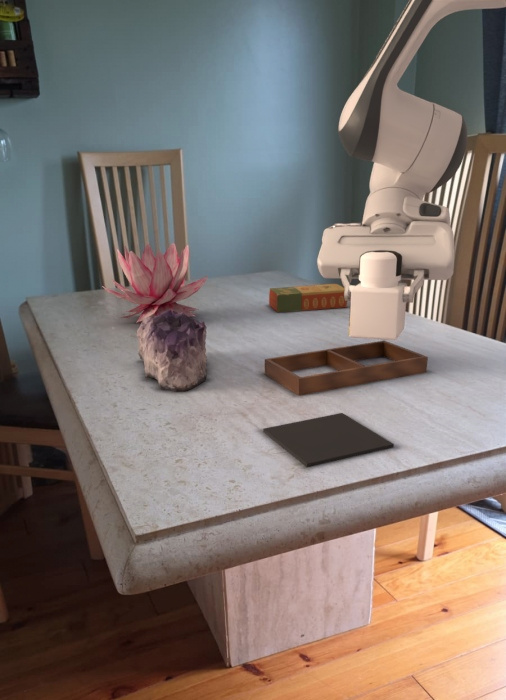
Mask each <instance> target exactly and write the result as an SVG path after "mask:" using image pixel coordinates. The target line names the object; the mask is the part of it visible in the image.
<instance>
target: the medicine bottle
mask: <svg viewBox="0 0 506 700" xmlns="http://www.w3.org/2000/svg"><path fill="white" fill-rule="evenodd" d="M401 268H402V255H401V254H400V253H398V252H396V251H388V250H376V251H368V252H365V253H363V254H362V255H361V256H360V261H359V279H358V281H360V282H359V283H357V284H356V285H355V287H354V288H352V289H351V291H350V301H349V320H348V337H349V338H354V339H368V340H369V339H371V340H383V341H396V340H397V339H398V338H399V337H400V335H401V334H402V333H403V331H404V330H405V325H406V324H405V323H406V310H407V308H406V307H407V303H405V302H403V299H402V296H403V290H404V286H408V283H406V282H403V281H402V279H401ZM401 281H402V282H401Z"/></svg>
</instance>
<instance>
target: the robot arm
mask: <svg viewBox="0 0 506 700" xmlns="http://www.w3.org/2000/svg"><path fill="white" fill-rule="evenodd" d="M502 8H506V0H408V1H407V3H406V5H405V6H404V8H403V10H402V11H401V13H400V15H399V17H398V18H397V20H396V22H395V24H394V25H393V27H392V29H391V31H390V32H389V34H388V36H387V38H386V39H385V41H384V42H383V44H382V45H381V48H380V49H379V51H378V53H377V54H376V56H375V58H374V60H373V61H372V63H371V65H370V66H369V68H368V70H367V71H366V73H365V74H364V76H363V77H362V79H361V80H360V82H359V84H358V85H357V86H356V88H355V89H354V90H353V92H352V93H351V94H350V96H349V97H348V98H347V101H346V102H345V104H344V107H343V109H342V111H341V114H340V117H339V122H338V127H337V134H338V137H339V140H340V143H341V145H342V146H343V149H344V151H345V152H346V154H347V155H348V157H351V158H354V159H359V160H362V161H366V162H372V163H373V165H372V169H371V174H370V178H369V195H368V196H367V198H366V201H365V205H364V211H363V217H362V221H361V222H349V223H342V222H336V223H333V225H331V226H328V227H327V228H325V229H324V230H323V233H322V237H321V246H320V249H319V253H318V256H317V259H316V263H317V268H318V272H319V274H320V275H321V277H323V279H340V280H341V284H342V287H343V288H345V292H344V298H345V301H347V302H350V291H351V289H352V288H354V287H355V286H356V285H354V284H353V285H352V284H351V283H352V280H353V279H354V280H357V279H358V280H359V261H360V256H361V255H362V254H363V253H365V252H368V251H376V250H388V251H396V252H398V253H400V254H401V255H402V268H401V280H403V281H405V280H407V281H410V280H412V283H410V284H409V286H408V285H407V286H404V290H403V296H402V299H403V302H405V303H406V304H408V303H409V304H413V303H414V299H415V294H416V293H418V291H419V290H420V289H421V288H422V287H423V286H424V283H425V281H448V280H449V279H451V277H452V276H453V275H454V270H455V269H454V268H455V237H454V236H455V235H454V232H453V228H452V227H451V214H450V209H449V208H448V207H447V206H446V205H445V206H444V205H441V204H437V203H433V202H429V201H425V200H424V197H425V195H426V194H430V193H432V192H434V191H436V190H438V189H439V188H440V187H442V186H444V185H445V184H446V183H448V182H449V181H450V180H451V179H452V178H453V177H454V176H455V175H456V173H457V172H458V170H459V169H460V168H461V165H462V163H463V161H464V158H465V154H466V151H467V146H468V129H467V122H466V121H465V118H464V116H463V114H460V113H459V112H456V111H454V110H452V109H450V108H448V107H444V106H442V105H440V104H437V103H436V102H432V101H428V100H426V99H423V98H421V97H418V96H417V95H413V94H412V93H409V92H407V91H405V90H402V89H401V88H400V87H398V83H399V82H400V80H401V78H402V77H403V75H404V73H405V72H406V70H407V69H408V68H409V65H410V64H411V62H412V61H413V59H414V57H415V55H416V54H417V52H418V51H419V49H420V47H421V46H422V44H423V42H424V41H425V39H426V37H428V35H429V33H430V31H431V30H432V29H433V27H434V26H435V25H436V24H437V23H438V22H439V21H441V20H442V19H444V18H445V17H447V16H449V15H450V14H453V13H457V12H461V11H469V10H485V9H486V10H487V9H502Z"/></svg>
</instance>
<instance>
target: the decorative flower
mask: <svg viewBox="0 0 506 700" xmlns="http://www.w3.org/2000/svg"><path fill="white" fill-rule="evenodd" d="M116 251H117V257H118V262H119V264H120V268H121V269H122V272H123V273H124V275H125V277H126V279H127V280H128V282H129V284H130V286H131V287H132V289H133V290H134V291H133V290H132V289H129V288H126V287H125V286H123V285H122V284H120V283H118V282H117V281H116V280H115V279H113V278H111V281H112V282H113V284H114V285H115V287H116V288H117V289H119V290H120V291H122V292H123V293H121V292H119V291H115V290H113V289H111V288H108V287H106V286H103V285H101V287H102V288H103V289H104V290H105V291H106V292H107V293H109V294H111V295H113V296H115V297H117V298H118V299H122V300H125V301H128V302H129V303H132V304H135V305H137V306H136V307H134V308H132V309H130V310H125V312H127V313H130V314H129V315H125V316H122V317H119V319H127V318H130V317H134V316H136V315H138V314H140V313H141V314H140V316H139V317H138V319H137V320H136V322H135V324H137V323H142V321H143V319H144V318H145V317H150V316H151V317H156V316H158V315H159V314H161V313H163V312H165V311H168V310H171V311H176V312H177V313H178V314H179V313H182V312H184V313H185V314H186V315H187V316H188V317H189V318H192V317H196V315H195V314H194V313H193V312H196V311H199V308H195V307H191V306H189V305H184V304H180V303H178V302H180V301H183V300H186V299H188V298H190V297H191V296H193V295H194V294H196V293H197V292H199V290H200V289H201V288H202V286H203V285H204V284H205V283H206V282H207V280H208V278H209V275H207V276H205V277H203V278H200V279H198V280H195V281H193V282H190V283H188V284H185V278H186V274H187V271H188V266H189V265H188V264H189V256H190V252H189V251H190V250H189V244H186V245H185V248H184V247H182V248H181V251H180V256H179V254H178V251H177V248H176V243H175V242H171V244H170V245H169V247H168V248H167V249H166V251H165V252H164V254H163V253H162V251H161V250H160V249H158V250H157V251H156V254H155V253H154V251H153V248H152V247H151V244H150V243H148V242H147V243H146V245H145V247H144V249H143V251H142V255H141V258H140V257H139V256H138V255H137V254H135V252H134V251H133V250H130V251H128V248H127V246H126V245H125V246H124V256H125V257H124V256H123V255H122V253H121V251H120V250H119V249H118V248H116Z"/></svg>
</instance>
